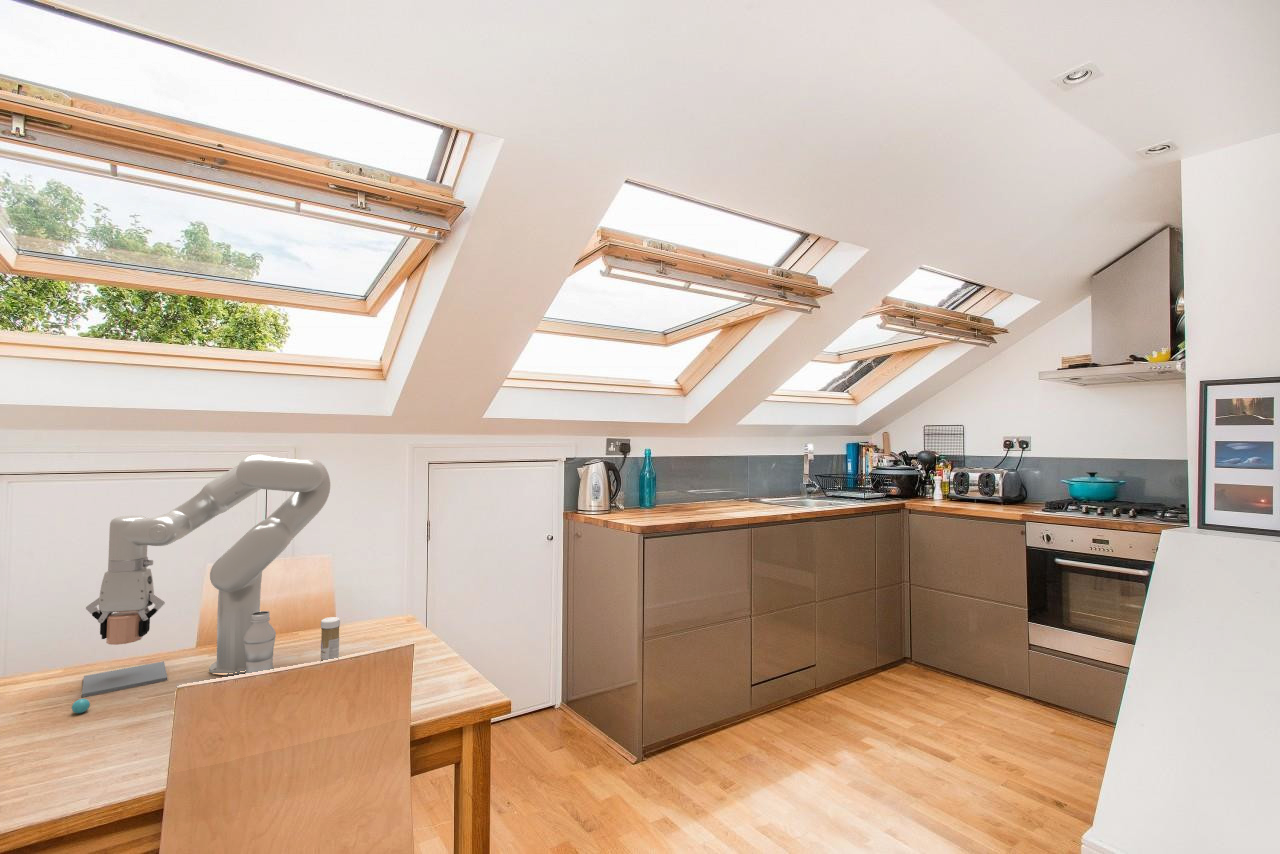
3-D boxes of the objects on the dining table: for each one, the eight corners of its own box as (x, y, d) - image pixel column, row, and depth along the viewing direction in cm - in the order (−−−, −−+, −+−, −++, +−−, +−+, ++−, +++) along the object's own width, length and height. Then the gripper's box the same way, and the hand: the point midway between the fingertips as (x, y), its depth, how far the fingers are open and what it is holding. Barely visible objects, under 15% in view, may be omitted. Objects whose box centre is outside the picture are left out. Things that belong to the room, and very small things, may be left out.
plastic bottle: (281, 694, 148) (283, 610, 148) (256, 706, 141) (257, 618, 141) (261, 690, 150) (263, 608, 150) (235, 701, 143) (237, 615, 144)
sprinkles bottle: (316, 670, 163) (317, 619, 163) (334, 665, 166) (335, 615, 167) (324, 674, 160) (325, 622, 160) (342, 669, 163) (343, 618, 164)
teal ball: (93, 709, 138) (93, 696, 138) (80, 716, 135) (81, 702, 135) (80, 709, 138) (80, 696, 139) (67, 715, 136) (67, 701, 136)
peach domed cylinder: (149, 636, 158) (150, 610, 159) (125, 645, 152) (127, 618, 152) (123, 635, 159) (124, 609, 159) (99, 644, 152) (100, 617, 152)
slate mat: (163, 664, 166) (163, 661, 166) (167, 680, 155) (167, 677, 155) (83, 679, 155) (83, 675, 155) (81, 697, 145) (81, 694, 145)
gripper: (174, 561, 162) (171, 629, 161) (93, 563, 156) (90, 634, 156) (162, 567, 155) (159, 638, 154) (76, 570, 149) (73, 643, 149)
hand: (124, 635), depth 155 cm, fingers closed on peach domed cylinder, 7 cm apart
